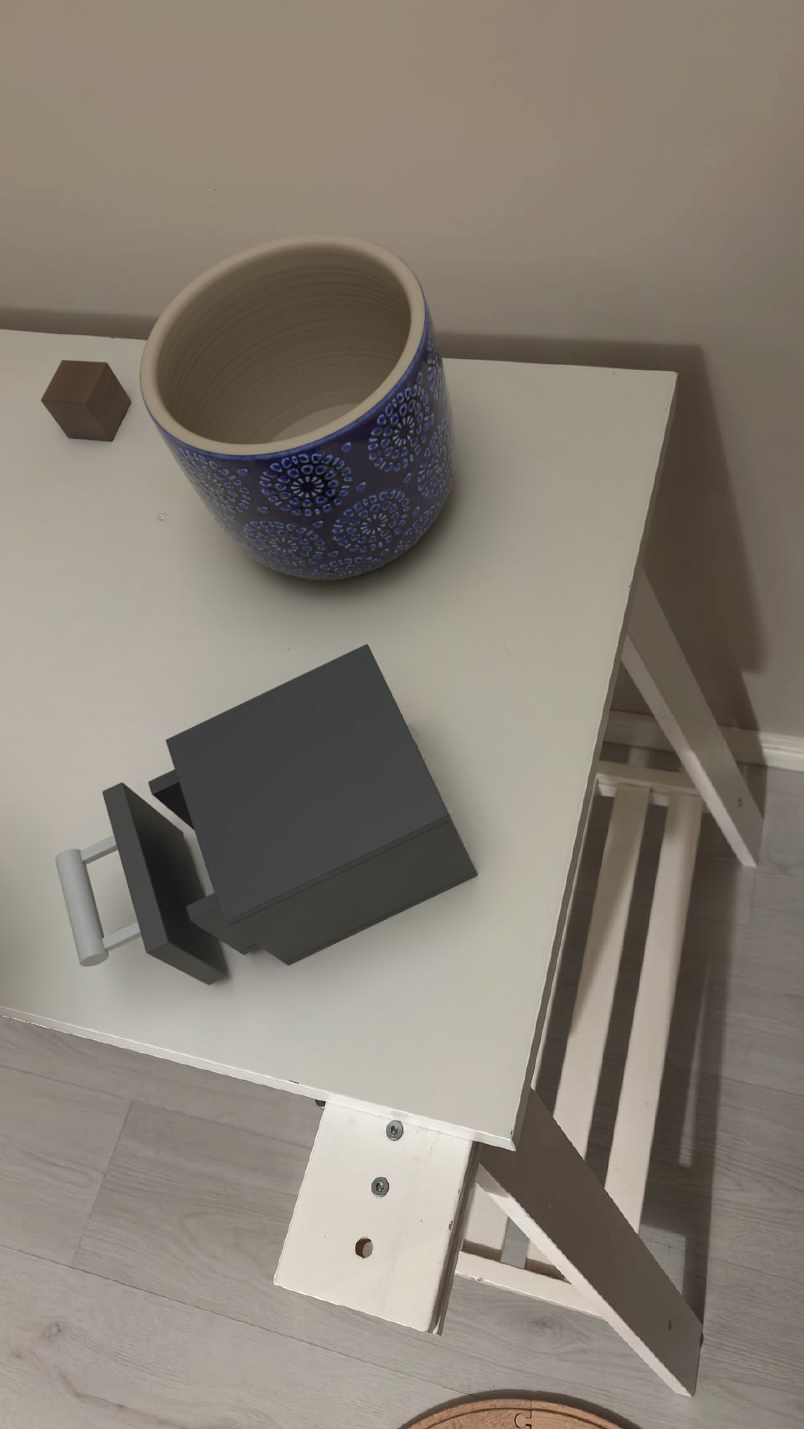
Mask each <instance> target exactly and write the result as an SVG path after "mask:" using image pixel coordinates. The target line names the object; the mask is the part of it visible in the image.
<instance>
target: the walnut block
mask: <svg viewBox="0 0 804 1429" xmlns="http://www.w3.org/2000/svg"><path fill="white" fill-rule="evenodd" d="M40 402H41V403H42V405H43V406H44V407H45V408H46V410H47V411H48V413H49V415H51V417H52V418H53V420H54V421H55V422H56V423H57V425H58V426H59V427H60V429H61V430H62V431H63V433H64V434H65V436H66V437H67V438H70V439H80V440H81V439H83V440H94V441H105V442H106V441H107V442H112V441H113V440H114V437H115V435H116V434H117V432H118V429H119V428H120V426H121V424H122V421H123V420H124V417H125V416H126V414H127V411H128V409H129V407H130V405H131V403H132V400H131V398H130V396H129V395H128V393H127V392H126V390H125V388H124V387H123V385H122V383H121V382H120V380H119V379H118V377H117V376H116V374H115V372H114V370H113V369H112V367H111V366H110V365H109V363H108V362H106V361H90V360H89V361H88V360H70V359H62V360H61V361H60V363H59V364H58V366H57V369H56V370H55V372H54V374H53V376H52V378H51V380H50V381H49V383H48V386H47V387H46V388H45V391H44V393H43V395H42V397H41V398H40Z"/></svg>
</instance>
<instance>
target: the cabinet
mask: <svg viewBox="0 0 804 1429" xmlns="http://www.w3.org/2000/svg"><path fill="white" fill-rule="evenodd" d="M409 728H410V727H409V726H408V724H407V722H406V720H405V718H404V716H403V714H402V712H401V709H400V708H399V705H398V703H397V701H396V699H395V697H394V695H393V693H392V691H391V689H390V686H389V684H388V682H387V681H386V678H385V676H384V674H383V672H382V670H381V668H380V666H379V664H378V662H377V660H376V658H375V656H374V654H373V651H372V649H371V648H370V646H369V644H368V643H365V644H363V645H361V646H360V647H357V648H354V649H353V650H351V651H349V652H347V653H345V654H342V655H340V656H338V657H337V658H334V659H332V660H331V661H328V662H326V663H324V664H322V665H319V666H317V667H315V668H313V669H311V670H309V671H306V672H305V673H303V674H301V675H298V676H296V677H294V678H292V679H289V680H288V681H285V682H284V683H281V684H280V685H277V686H275V687H274V688H272V689H269V690H267V691H265V692H263V693H261V694H259V695H256V696H254V697H253V698H250V699H248V700H246V701H244V702H242V703H240V704H238V705H236V706H233V707H232V708H229V709H227V710H224V711H223V712H221V713H219V714H217V715H215V716H212V717H210V718H209V719H207V720H205V721H202V722H200V723H197V724H196V725H194V726H192V727H189V728H188V729H185V730H183V731H181V732H179V733H177V734H175V735H172V736H171V737H169V738H166V739H165V743H166V746H167V750H168V753H169V755H170V758H171V759H170V760H171V762H172V764H173V768H174V769H175V771H176V774H177V778H178V781H179V784H180V787H181V790H182V793H183V796H184V799H185V802H186V805H187V809H188V812H189V815H190V818H191V821H192V824H193V827H194V830H195V831H194V830H193V831H194V833H195V836H196V839H197V843H198V845H199V849H200V852H201V855H202V858H203V861H204V865H205V867H206V870H207V873H208V876H209V880H210V883H211V886H212V889H213V893H215V895H216V899H217V902H218V905H219V908H220V911H221V914H222V917H223V920H224V922H225V923H227V924H228V925H230V926H231V927H233V928H234V929H236V930H237V931H238V932H240V933H241V934H243V935H244V936H246V937H247V938H249V939H250V940H251V941H253V942H254V943H256V944H257V945H259V946H260V947H261V948H262V949H263V950H264V951H266V952H267V953H269V954H270V955H272V956H273V957H275V958H276V959H277V960H279V961H280V962H282V963H283V964H285V965H286V966H290V965H293V964H295V963H297V962H299V961H301V960H303V959H305V958H307V957H309V956H312V955H314V954H316V953H318V952H321V951H323V950H324V949H326V948H328V947H331V946H333V945H335V944H337V943H339V942H341V941H343V940H345V939H347V938H349V937H352V936H353V935H356V934H358V933H360V932H362V931H364V930H367V929H369V928H370V927H373V926H375V925H377V924H379V923H381V922H383V921H385V920H387V919H389V918H391V917H394V916H396V915H398V914H400V913H402V912H405V911H406V910H408V909H411V908H413V907H415V906H417V905H419V904H421V903H423V902H425V901H427V900H430V899H432V898H433V897H436V896H437V895H440V894H442V893H444V892H446V891H449V890H450V889H452V888H455V887H456V886H459V885H461V884H463V883H465V882H467V881H469V880H471V879H474V878H476V877H477V876H479V874H478V872H477V869H476V868H475V866H474V863H473V860H472V859H471V856H470V854H469V852H468V851H467V848H466V846H465V844H464V842H463V839H462V838H461V836H460V833H459V832H458V829H457V827H456V825H455V823H454V821H453V819H452V817H451V815H450V812H449V811H448V808H447V806H446V804H445V801H444V800H443V798H442V795H441V794H440V791H439V789H438V787H437V785H436V783H435V780H434V778H433V777H432V774H431V772H430V771H429V768H428V766H427V764H426V762H425V760H424V758H423V756H422V754H421V751H420V749H419V748H418V745H417V743H416V741H415V739H414V737H413V734H412V732H411V730H410V729H409Z"/></svg>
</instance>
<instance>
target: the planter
mask: <svg viewBox="0 0 804 1429" xmlns="http://www.w3.org/2000/svg"><path fill="white" fill-rule="evenodd" d="M141 355H142V356H141V360H140V366H139V387H140V393H141V397H142V401H143V404H144V406H145V409H146V411H147V413H148V414H149V417H150V419H151V420H152V423H153V424H154V426H155V428H156V430H157V432H158V433H159V435H160V437H161V439H162V440H163V442H164V443H165V446H166V448H168V450H169V452H170V453H171V455H172V457H173V458H174V459H175V462H176V464H177V465H178V467H179V468H180V470H181V472H182V473H183V474H184V477H185V478H186V479H187V481H188V482H189V484H190V485H191V487H192V488H193V489H194V491H195V493H196V494H197V496H198V497H199V498H200V500H201V502H202V503H203V505H204V506H205V507H206V509H207V510H208V512H209V513H210V514H211V516H212V517H213V518H214V520H215V521H216V522H217V524H218V525H219V526H220V527H221V528H222V529H223V531H224V532H225V533H226V534H227V535H228V537H229V538H230V539H231V540H232V541H233V543H235V545H236V546H238V547H239V548H240V549H241V550H242V551H243V552H244V553H245V554H247V555H248V556H250V557H251V558H252V559H253V560H255V561H256V562H258V563H259V564H261V565H263V566H264V567H266V568H269V569H270V570H272V571H275V572H278V573H280V574H284V575H287V576H291V577H294V578H300V579H304V580H313V581H315V580H316V581H331V580H342V579H349V578H353V577H359V576H361V575H364V574H368V573H370V572H373V571H376V570H378V569H380V568H382V567H384V566H386V565H387V564H390V563H391V562H393V561H395V560H396V559H398V558H399V557H401V556H402V555H404V554H405V553H406V552H407V551H409V550H410V549H411V548H412V547H414V546H415V544H416V543H418V542H419V541H420V540H421V538H423V537H424V535H425V534H426V533H427V532H428V531H429V530H430V528H431V527H432V526H433V524H434V523H435V522H436V520H437V519H438V517H439V515H440V513H441V511H442V509H443V508H444V505H445V503H446V502H447V499H448V497H449V494H450V492H451V488H452V486H453V481H454V476H455V468H456V459H457V458H456V457H457V446H456V445H457V444H456V436H455V435H456V434H455V423H454V416H453V409H452V402H451V397H450V392H449V388H448V382H447V378H446V377H447V376H446V372H445V366H444V363H443V357H442V354H441V349H440V346H439V341H438V338H437V332H436V329H435V325H434V321H433V317H432V314H431V310H430V307H429V305H428V301H427V298H426V295H425V291H424V289H423V286H422V284H421V282H420V281H419V279H418V277H417V275H416V274H415V272H414V271H413V270H412V268H411V267H410V266H409V265H408V263H406V262H405V261H404V260H403V259H402V258H401V257H400V256H398V255H397V254H396V253H394V252H393V251H391V250H390V249H388V248H386V247H384V246H382V245H380V244H378V243H376V242H373V241H371V240H368V239H364V238H362V237H358V236H357V237H356V236H353V235H348V234H340V233H330V232H329V233H328V232H327V233H323V232H319V233H315V232H314V233H301V234H295V235H289V236H283V237H280V238H275V239H272V240H267V241H265V242H261V243H259V244H255V245H253V246H249V247H247V248H245V249H242V250H240V251H238V252H236V253H234V254H232V255H230V256H228V257H227V258H224V259H222V260H221V261H219V262H218V263H216V264H215V265H213V266H211V267H209V268H208V269H206V270H205V271H204V272H202V273H201V274H200V275H198V276H197V277H196V278H194V279H193V280H192V281H191V282H190V283H189V284H188V285H187V286H185V287H184V288H182V290H181V291H180V292H179V293H178V294H177V295H176V296H175V297H174V298H173V299H172V300H171V302H169V304H168V305H167V306H166V307H165V309H164V310H163V312H162V313H161V315H160V316H159V317H158V319H157V321H156V322H155V324H154V326H153V327H152V330H151V331H150V333H149V335H148V338H147V340H146V342H145V345H144V349H143V352H142V354H141Z"/></svg>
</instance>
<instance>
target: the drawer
mask: <svg viewBox="0 0 804 1429" xmlns="http://www.w3.org/2000/svg"><path fill="white" fill-rule="evenodd" d="M147 783H148V787H149V790H150V794H151V795H152V796H153V797H154V798H155V799H156V800H158V801H159V802H160V803H161V804H162V805H163V806H165V807H166V808H167V809H168V810H169V811H171V812H172V814H174V815H176V817H177V818H179V820H181V821H182V822H184V824H186V825H187V826H189V828H191V829H192V830H193V831H194V832H195V830H194V827H193V824H192V821H191V818H190V815H189V812H188V809H187V805H186V802H185V799H184V796H183V793H182V790H181V787H180V784H179V781H178V778H177V774H176V771H175V768H174V769H171V770H170V771H168V772H166V773H164V774H161V775H160V776H157V777H155V778H153V779H152V780H149V781H148V782H147ZM101 793H102V796H103V800H104V805H105V809H106V812H107V815H108V820H109V822H110V827H111V829H112V834H113V835H111V836H109V837H107V838H104V839H103V840H100V841H99V842H97V843H95V844H92V845H90V846H88V847H86V848H84V849H78V848H71V849H67V850H64V851H62V852H60V853H58V854H57V855H56V857H55V860H54V861H55V865H56V869H57V873H58V877H59V881H60V886H61V890H62V894H63V899H64V902H65V906H66V911H67V915H68V920H69V923H70V928H71V931H72V932H71V933H72V936H73V940H74V946H75V949H76V953H77V956H78V961H79V962H78V963H79V965H81V966H82V967H95V966H97V965H100V964H102V963H104V962H105V961H106V960H108V959H109V957H110V954H109V952H112V951H113V950H116V949H118V948H119V947H122V946H125V945H126V944H128V943H130V942H133V941H135V940H137V939H139V938H141V939H142V943H143V947H144V949H145V953H146V954H148V955H149V956H151V957H154V958H155V959H157V960H159V961H161V962H163V963H164V964H166V965H169V966H171V967H172V968H174V969H176V970H178V971H180V972H182V973H183V974H185V975H188V976H190V977H192V978H194V979H196V980H198V981H199V982H201V983H203V984H205V985H207V986H211V985H213V984H216V983H218V982H219V981H221V980H224V979H225V978H227V977H228V976H229V974H228V971H227V967H226V965H225V962H224V959H223V955H222V953H221V949H220V946H219V942H218V940H219V941H221V942H222V943H224V944H226V945H227V946H229V947H230V948H232V949H233V950H234V951H236V952H238V953H240V954H241V955H242V956H246V955H248V954H250V953H253V952H255V951H257V950H259V949H261V948H262V947H260V946H259V945H257V944H256V943H254V942H253V941H251V940H250V939H249V938H247V937H246V936H244V935H243V934H241V933H240V932H238V931H237V930H236V929H234V928H233V927H231V926H230V925H228V924H227V923H225V922H224V920H223V917H222V914H221V911H220V908H219V905H218V902H217V899H216V895H215V892H213V893H210V894H209V895H207V896H205V897H204V895H203V892H202V889H201V885H200V882H199V879H198V876H197V872H196V870H195V866H194V863H193V860H192V857H191V854H190V851H189V847H188V844H187V841H186V838H185V835H184V834H185V833H184V832H183V830H182V829H180V828H179V827H178V826H177V825H175V824H174V823H173V822H172V821H170V820H169V819H168V818H166V816H164V815H163V814H162V813H161V812H159V811H158V810H157V809H156V808H154V807H153V806H152V805H151V804H150V803H149V802H147V801H146V800H145V799H144V798H143V797H141V796H140V795H139V794H137V793H136V792H135V791H134V790H132V788H130V787H129V786H128V785H126V784H125V783H124V782H123V781H122V782H119V783H117V784H114V785H112V786H111V787H108V788H106V789H104V790H103V791H102V792H101ZM116 851H117V852H118V855H119V860H120V863H121V866H122V870H123V873H124V878H125V882H126V884H127V888H128V891H129V896H130V898H131V903H132V906H133V910H134V914H135V917H136V922H135V921H134V923H131V924H129V925H127V926H125V927H123V928H121V929H118V930H117V931H114V932H112V933H111V934H108V935H106V936H105V934H104V930H103V926H102V921H101V917H100V915H99V910H98V906H97V902H96V899H95V895H94V890H93V887H92V882H91V879H90V874H89V871H88V866H87V865H88V864H91V863H93V862H95V861H98V860H99V859H101V858H104V857H106V856H107V855H110V854H112V853H114V852H116Z"/></svg>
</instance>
